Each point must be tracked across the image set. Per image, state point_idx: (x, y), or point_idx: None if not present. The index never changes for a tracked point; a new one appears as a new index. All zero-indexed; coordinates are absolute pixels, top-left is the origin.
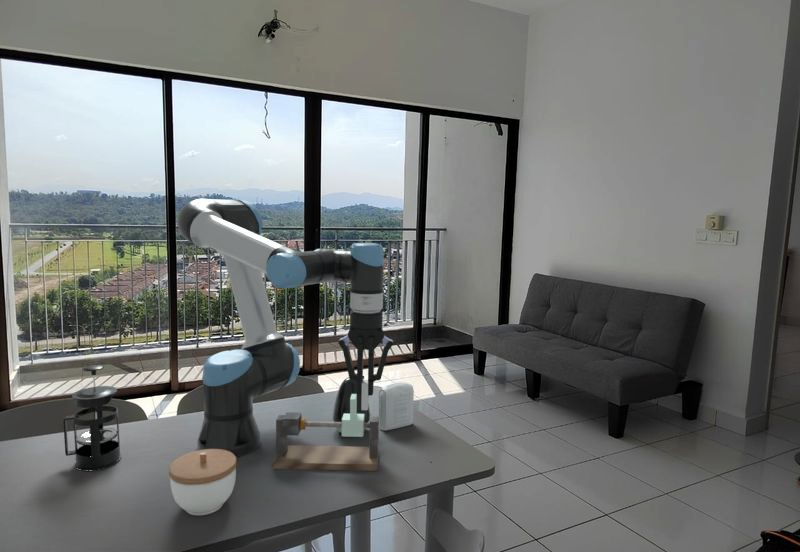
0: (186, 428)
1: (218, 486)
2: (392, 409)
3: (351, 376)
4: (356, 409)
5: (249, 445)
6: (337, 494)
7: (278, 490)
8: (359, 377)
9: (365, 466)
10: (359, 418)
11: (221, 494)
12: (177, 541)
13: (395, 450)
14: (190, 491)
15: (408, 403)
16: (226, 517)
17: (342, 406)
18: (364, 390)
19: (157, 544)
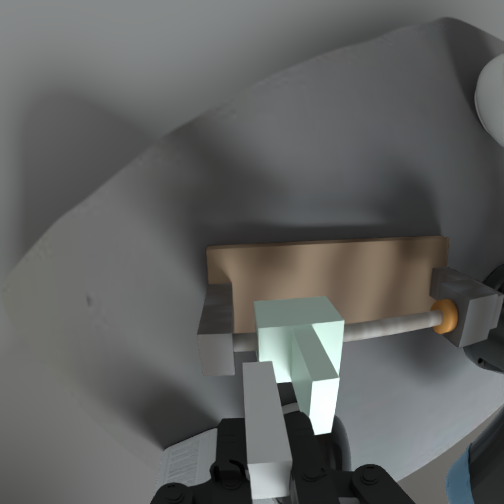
0: None
1: (499, 57)
2: (198, 467)
3: (374, 481)
4: (294, 388)
5: None
6: (292, 124)
7: (416, 144)
8: (316, 489)
9: (238, 247)
10: (275, 344)
11: (487, 65)
12: (477, 33)
13: (176, 351)
14: None
15: (164, 482)
16: (457, 69)
17: (332, 447)
18: (267, 428)
19: (489, 35)
